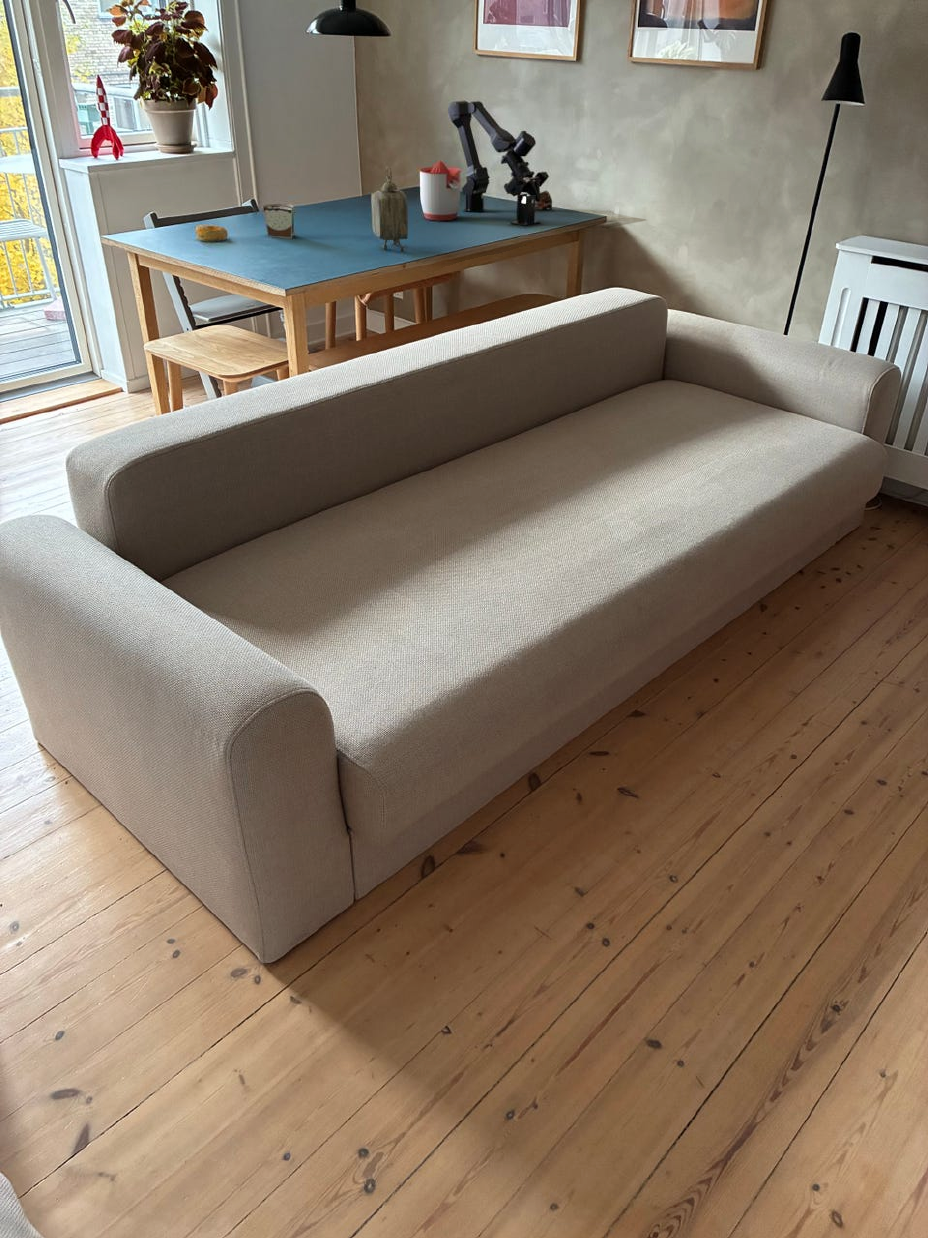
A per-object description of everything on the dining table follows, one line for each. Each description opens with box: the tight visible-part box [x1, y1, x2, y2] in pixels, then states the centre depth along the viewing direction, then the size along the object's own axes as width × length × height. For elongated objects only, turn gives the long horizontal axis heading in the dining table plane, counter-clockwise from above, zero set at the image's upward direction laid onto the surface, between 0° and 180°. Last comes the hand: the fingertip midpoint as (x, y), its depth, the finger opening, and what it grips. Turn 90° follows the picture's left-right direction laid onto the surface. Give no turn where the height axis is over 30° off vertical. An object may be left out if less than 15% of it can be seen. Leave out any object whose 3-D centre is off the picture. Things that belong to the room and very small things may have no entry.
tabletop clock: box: [370, 166, 409, 253], centre depth 309 cm, size 14×9×25 cm, turn 17°
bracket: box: [509, 193, 541, 228], centre depth 348 cm, size 9×7×10 cm
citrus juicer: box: [418, 160, 462, 222], centre depth 355 cm, size 16×17×20 cm
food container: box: [261, 203, 296, 239], centre depth 330 cm, size 12×6×10 cm, turn 71°
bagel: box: [195, 224, 229, 243], centre depth 326 cm, size 10×11×5 cm
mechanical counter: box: [535, 190, 553, 211], centre depth 373 cm, size 7×13×10 cm
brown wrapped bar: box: [521, 196, 546, 207], centre depth 349 cm, size 10×5×2 cm, turn 137°
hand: (539, 201), depth 352 cm, fingers closed
